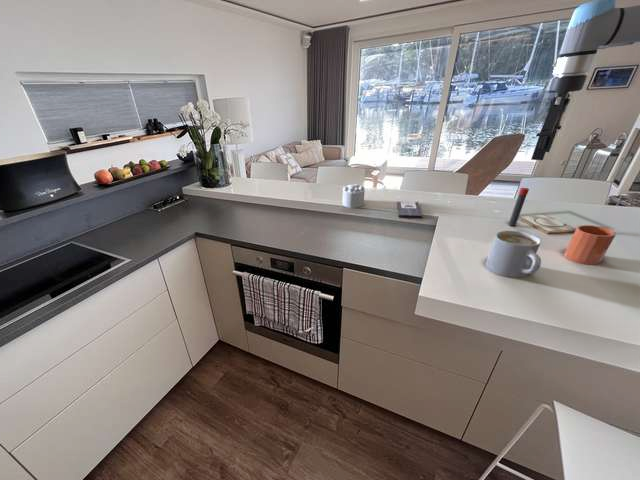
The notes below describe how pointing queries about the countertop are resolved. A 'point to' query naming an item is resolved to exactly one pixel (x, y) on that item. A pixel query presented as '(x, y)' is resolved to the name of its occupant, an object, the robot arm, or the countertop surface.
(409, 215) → the chocolate bar
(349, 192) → the lumpy-topped squat cylinder
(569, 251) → the pen cup
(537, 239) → the coffee mug
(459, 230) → the countertop surface
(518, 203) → the marker
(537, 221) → the sketch pad
